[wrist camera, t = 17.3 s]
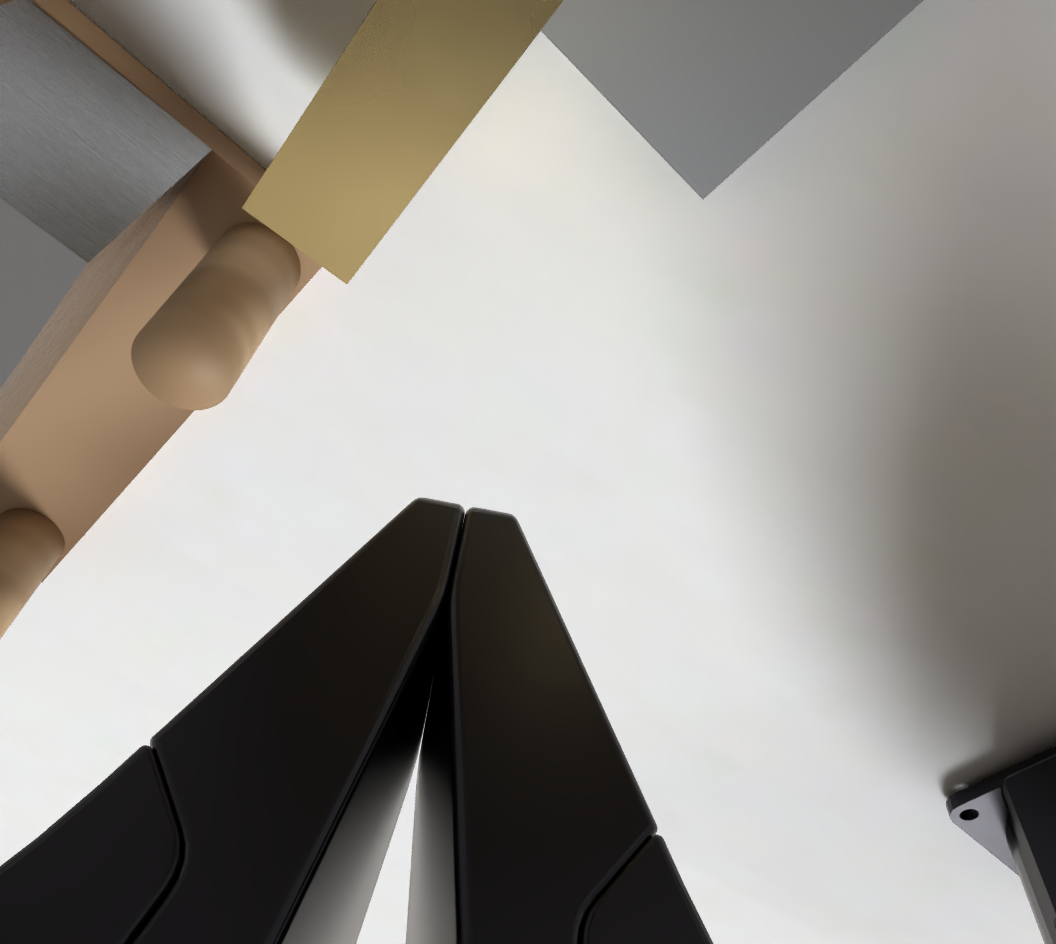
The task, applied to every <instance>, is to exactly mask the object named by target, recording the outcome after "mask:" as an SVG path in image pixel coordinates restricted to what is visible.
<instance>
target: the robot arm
mask: <svg viewBox="0 0 1056 944" xmlns="http://www.w3.org/2000/svg"><path fill="white" fill-rule="evenodd" d="M464 515H465V518H464ZM463 521H464V522H463ZM428 704H429V705H428ZM427 709H428V710H427ZM426 714H427V716H426ZM425 719H426V721H425ZM424 724H425V727H424ZM423 729H424V732H423ZM422 734H423V738H422ZM421 738H422V744H421V750H420V757H419V764H418V774H417V784H416V797H415V812H414V828H413V843H412V858H411V873H410V888H409V903H408V918H407V933H406V944H713V942H712V940H711V938H710V936H709V934H708V932H707V930H706V928H705V926H704V924H703V922H702V920H701V918H700V916H699V914H698V912H697V910H696V908H695V906H694V904H693V902H692V900H691V897H690V895H689V893H688V891H687V889H686V887H685V885H684V883H683V881H682V879H681V877H680V874H679V872H678V870H677V868H676V866H675V863H674V861H673V859H672V857H671V854H670V852H669V850H668V848H667V846H666V843H665V841H664V839H663V838H662V837H661V836H660V835H655V834H656V832H657V825H656V823H655V820H654V818H653V816H652V814H651V812H650V809H649V807H648V805H647V803H646V801H645V799H644V796H643V794H642V792H641V790H640V788H639V785H638V783H637V781H636V779H635V777H634V774H633V772H632V770H631V768H630V766H629V763H628V761H627V759H626V757H625V755H624V752H623V750H622V748H621V746H620V744H619V742H618V739H617V737H616V735H615V733H614V731H613V728H612V726H611V724H610V722H609V720H608V717H607V715H606V713H605V711H604V709H603V706H602V704H601V702H600V700H599V698H598V695H597V693H596V691H595V689H594V687H593V685H592V682H591V680H590V678H589V676H588V674H587V671H586V669H585V667H584V665H583V663H582V660H581V658H580V656H579V654H578V652H577V649H576V647H575V645H574V643H573V641H572V639H571V636H570V634H569V632H568V630H567V628H566V625H565V623H564V621H563V619H562V617H561V614H560V612H559V610H558V608H557V606H556V603H555V601H554V599H553V597H552V595H551V592H550V590H549V588H548V586H547V584H546V582H545V579H544V577H543V575H542V573H541V571H540V568H539V566H538V564H537V562H536V560H535V557H534V555H533V553H532V551H531V549H530V546H529V544H528V542H527V540H526V538H525V535H524V533H523V531H522V529H521V527H520V525H519V523H518V521H517V519H516V518H515V517H514V516H513V515H511V514H508V513H503V512H497V511H492V510H487V509H481V508H476V507H473V508H470V509H469V510H468V511H467V512H466V514H465V511H464V509H463V507H462V506H461V505H459V504H455V503H450V502H444V501H439V500H434V499H429V498H418V499H415V500H414V501H412V502H411V503H410V504H409V505H408V506H407V507H406V508H405V509H404V510H402V511H401V512H400V513H399V514H398V515H397V516H396V517H395V518H394V519H393V520H391V521H390V522H389V523H388V524H387V525H386V526H385V527H384V528H383V529H382V530H380V531H379V532H378V533H377V534H376V535H375V536H374V537H373V538H372V539H370V540H369V541H368V542H367V543H366V544H365V545H364V546H363V547H362V548H361V549H359V550H358V551H357V552H356V553H355V554H354V555H353V556H352V557H351V558H350V559H348V560H347V561H346V562H345V563H344V564H343V565H342V566H341V567H340V568H338V569H337V570H336V571H335V572H334V573H333V574H332V575H331V576H330V577H329V578H327V579H326V580H325V581H324V582H323V583H322V584H321V585H320V586H319V587H318V588H316V589H315V590H314V591H313V592H312V593H311V594H310V595H309V596H308V597H306V598H305V599H304V600H303V601H302V602H301V603H300V604H299V605H298V606H297V607H295V608H294V609H293V610H292V611H291V612H290V613H289V614H288V615H287V616H286V617H284V618H283V619H282V620H281V621H280V622H279V623H278V624H277V625H276V626H274V627H273V628H272V629H271V630H270V631H269V632H268V633H267V634H266V635H265V636H263V637H262V638H261V639H260V640H259V641H258V642H257V643H256V644H255V645H254V646H252V647H251V648H250V649H249V650H248V651H247V652H246V653H245V654H244V655H243V656H241V657H240V658H239V659H238V660H237V661H236V662H235V663H234V664H233V665H231V666H230V667H229V668H228V669H227V670H226V671H225V672H224V673H223V674H222V675H220V676H219V677H218V678H217V679H216V680H215V681H214V682H213V683H212V684H211V685H209V686H208V687H207V688H206V689H205V690H204V691H203V692H202V693H201V694H199V695H198V696H197V697H196V698H195V699H194V700H193V701H192V702H191V703H190V704H188V705H187V706H186V707H185V708H184V709H183V710H182V711H181V712H180V713H179V714H177V715H176V716H175V717H174V718H173V719H172V720H171V721H170V722H169V723H167V724H166V725H165V726H164V727H163V728H162V729H161V730H160V731H159V732H158V733H156V734H155V735H154V736H153V737H152V738H151V740H150V746H147V745H145V746H142V747H140V748H139V749H138V750H137V751H136V752H135V753H134V754H132V755H131V756H130V757H129V758H128V759H127V760H126V761H125V762H124V763H123V764H122V765H120V766H119V767H118V768H117V769H116V770H115V771H114V772H113V773H112V774H111V775H110V776H108V777H107V778H106V779H105V780H104V781H103V782H102V783H101V784H100V785H98V786H97V787H96V788H95V789H94V790H93V791H91V792H90V793H89V794H88V795H87V796H86V797H84V798H83V799H82V800H81V801H80V802H79V803H77V804H76V805H75V806H74V807H73V808H72V809H70V810H69V811H68V812H67V813H66V814H64V815H63V816H62V817H61V818H60V819H59V820H57V821H56V822H55V823H54V824H53V825H52V826H50V827H49V828H48V829H47V830H46V831H45V832H43V833H42V834H41V835H40V836H39V837H38V838H36V839H35V840H34V841H32V842H31V843H30V844H29V845H27V846H26V847H25V848H23V849H22V850H21V851H19V852H18V853H17V854H16V855H14V856H13V857H12V858H10V859H9V860H8V861H6V862H5V863H4V864H3V865H1V866H0V944H356V942H357V939H358V936H359V933H360V930H361V927H362V924H363V921H364V918H365V915H366V912H367V909H368V906H369V903H370V900H371V897H372V894H373V891H374V888H375V885H376V882H377V879H378V876H379V873H380V870H381V867H382V864H383V861H384V858H385V855H386V852H387V849H388V846H389V843H390V840H391V837H392V834H393V831H394V828H395V825H396V822H397V819H398V816H399V814H400V811H401V808H402V805H403V802H404V799H405V796H406V793H407V790H408V787H409V783H410V780H411V777H412V773H413V770H414V767H415V763H416V760H417V756H418V751H419V747H420V743H421ZM946 807H947V810H948V813H949V816H950V819H951V820H952V822H953V823H955V824H956V825H957V826H958V827H960V828H961V829H962V830H963V831H964V832H966V833H967V834H968V835H969V836H971V837H972V838H973V839H974V840H976V841H977V842H978V843H979V844H981V845H982V846H983V847H984V848H985V849H987V850H988V851H989V852H990V853H992V854H993V855H994V856H995V857H997V858H998V859H999V860H1000V861H1001V862H1003V863H1004V864H1005V865H1006V866H1008V867H1009V868H1010V869H1011V870H1013V871H1014V872H1015V873H1016V874H1018V875H1019V876H1020V878H1021V881H1022V884H1023V887H1024V889H1025V892H1026V895H1027V897H1028V900H1029V903H1030V905H1031V908H1032V911H1033V913H1034V916H1035V919H1036V922H1037V924H1038V927H1039V930H1040V932H1041V935H1042V938H1043V940H1044V943H1045V944H1056V747H1054V748H1052V749H1049V750H1047V751H1045V752H1043V753H1041V754H1039V755H1037V756H1034V757H1032V758H1030V759H1028V760H1026V761H1024V762H1022V763H1019V764H1017V765H1015V766H1013V767H1011V768H1009V769H1007V770H1004V771H1002V772H1000V773H998V774H996V775H994V776H992V777H989V778H987V779H985V780H983V781H981V782H979V783H977V784H974V785H972V786H970V787H968V788H966V789H964V790H962V791H959V792H957V793H955V794H953V795H952V796H950V797H949V798H948V800H947V801H946Z"/></svg>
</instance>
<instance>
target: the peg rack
mask: <svg viewBox="0 0 1056 944" xmlns="http://www.w3.org/2000/svg"><path fill="white" fill-rule="evenodd" d="M11 1H14V0H0V5H3V4H6V3H8V2H11ZM31 1H33V2H34V3H35V4H36V5H38V6H39V7H40V8H41V9H42V10H44V11H45V12H46V13H47V14H48V15H50V16H51V17H52V18H53V19H55V20H56V21H57V22H58V23H59V24H61V25H62V26H63V27H64V28H65V29H67V30H68V31H69V32H70V33H71V34H73V35H74V36H75V37H76V38H78V39H79V40H80V41H81V42H82V43H84V44H85V45H86V46H87V47H88V48H90V49H91V50H92V51H93V52H95V53H96V54H97V55H98V56H99V57H101V58H102V59H103V60H104V61H105V62H107V63H108V64H109V65H110V66H111V67H113V68H114V69H115V70H116V71H118V72H119V73H120V74H121V75H122V76H124V77H125V78H126V79H127V80H128V81H130V82H131V83H132V84H133V85H134V86H136V87H137V88H138V89H139V90H141V91H142V92H143V93H144V94H145V95H147V96H148V97H149V98H150V99H151V100H153V101H154V102H155V103H156V104H158V105H159V106H160V107H161V108H162V109H164V110H165V111H166V112H167V113H168V114H170V115H171V116H172V117H173V118H174V119H176V120H177V121H178V122H179V123H181V124H182V125H183V126H184V127H185V128H187V129H188V130H189V131H190V132H191V133H193V134H194V135H195V136H196V137H197V138H199V139H200V140H201V141H202V142H204V143H205V144H206V145H207V146H208V147H210V148H211V149H212V150H211V152H210V153H209V154H208V156H207V157H206V159H205V160H204V161H203V163H202V164H201V166H200V167H199V168H198V170H197V171H196V172H195V174H194V175H193V177H192V178H191V179H190V181H189V182H188V184H187V185H186V186H185V188H184V189H183V190H182V192H181V193H180V195H179V196H178V197H177V199H176V200H175V201H174V203H173V204H172V206H171V207H170V208H169V210H168V211H167V213H166V214H165V215H164V217H163V218H162V219H161V221H160V222H159V224H158V225H157V226H156V228H155V229H154V231H153V232H152V233H151V235H150V236H149V237H148V239H147V240H146V242H145V243H144V244H143V246H142V247H141V248H140V250H139V251H138V253H137V254H136V255H135V257H134V258H133V260H132V261H131V262H130V264H129V265H128V266H127V268H126V269H125V271H124V272H123V273H122V275H121V276H120V278H119V279H118V280H117V282H116V283H115V284H114V286H113V287H112V289H111V290H110V291H109V293H108V294H107V296H106V297H105V298H104V300H103V301H102V302H101V304H100V305H99V307H98V308H97V309H96V311H95V312H94V313H93V315H92V316H91V318H90V319H89V320H88V322H87V323H86V325H85V326H84V327H83V329H82V330H81V331H80V333H79V334H78V336H77V337H76V338H75V340H74V341H73V343H72V344H71V345H70V347H69V348H68V349H67V351H66V352H65V354H64V355H63V356H62V358H61V359H60V360H59V362H58V363H57V365H56V366H55V367H54V369H53V370H52V372H51V373H50V374H49V376H48V377H47V378H46V380H45V381H44V383H43V384H42V385H41V387H40V388H39V390H38V391H37V392H36V394H35V395H34V396H33V398H32V399H31V401H30V402H29V403H28V405H27V406H26V408H25V409H24V410H23V412H22V413H21V414H20V416H19V417H18V419H17V420H16V421H15V423H14V424H13V425H12V427H11V428H10V430H9V431H8V432H7V434H6V435H5V437H4V438H3V439H2V441H1V442H0V639H1V637H2V636H3V635H4V633H5V632H6V630H7V629H8V628H9V626H10V625H11V623H12V622H13V621H14V619H15V618H16V616H17V615H18V614H19V612H20V611H21V609H22V608H23V607H24V605H25V604H26V602H27V601H28V600H29V598H30V597H31V595H32V594H33V593H34V591H35V590H36V589H37V587H38V586H39V584H40V583H41V582H43V581H44V579H45V578H46V577H47V576H48V575H49V574H50V573H51V572H52V570H53V569H54V568H55V567H56V566H57V565H58V564H59V563H60V561H61V560H62V559H63V558H64V557H65V556H66V555H67V554H68V552H69V551H70V550H71V549H72V548H73V547H74V546H75V545H76V543H77V542H78V541H79V540H80V539H81V538H82V537H83V535H84V534H85V533H86V532H87V531H88V530H89V529H90V528H91V526H92V525H93V524H94V523H95V522H96V521H97V520H98V519H99V517H100V516H101V515H102V514H103V513H104V512H105V511H106V510H107V508H108V507H109V506H110V505H111V504H112V503H113V502H114V501H115V499H116V498H117V497H118V496H119V495H120V494H121V493H122V491H123V490H124V489H125V488H126V487H127V486H128V485H129V484H130V482H131V481H132V480H133V479H134V478H135V477H136V476H137V475H138V473H139V472H140V471H141V470H142V469H143V468H144V467H145V466H146V464H147V463H148V462H149V461H150V460H151V459H152V458H153V457H154V455H155V454H156V453H157V452H158V451H159V450H160V449H161V447H162V446H163V445H164V444H165V443H166V442H167V441H168V440H169V438H170V437H171V436H172V435H173V434H174V433H175V432H176V431H177V429H178V428H179V427H180V426H181V425H182V424H183V423H184V422H185V420H186V419H187V418H188V417H189V416H190V415H191V414H192V413H193V411H194V410H203V409H208V408H211V407H213V406H216V405H218V404H219V403H220V402H222V401H223V400H224V399H225V398H226V397H227V395H228V394H229V393H230V391H231V389H232V388H233V386H234V385H235V383H236V381H237V380H238V378H239V377H240V375H241V374H242V372H243V370H244V369H245V367H246V366H247V364H248V362H249V361H250V359H251V358H252V356H253V354H254V353H255V351H256V350H257V348H258V347H259V345H260V343H261V342H262V340H263V339H264V337H265V335H266V334H267V332H268V331H269V329H270V327H271V326H272V324H273V323H274V321H275V320H276V318H277V317H278V315H279V314H280V313H281V312H282V311H283V310H284V309H285V308H286V306H287V305H288V304H289V303H290V302H291V301H292V300H293V299H294V297H295V296H296V295H297V294H298V293H299V292H300V291H301V290H302V288H303V287H304V286H305V285H306V284H307V283H308V282H309V281H310V279H311V278H312V277H313V276H314V275H315V274H316V273H317V271H318V270H319V269H320V268H321V267H322V266H321V265H320V264H318V263H317V262H315V261H314V260H313V259H311V258H310V257H309V256H307V255H306V254H304V253H303V252H302V251H300V250H299V249H298V248H296V247H295V246H293V245H292V244H291V243H289V242H288V241H287V240H285V239H284V238H282V237H281V236H280V235H278V234H277V233H275V232H274V231H273V230H271V229H270V228H269V227H267V226H266V225H264V224H263V223H262V222H260V221H259V220H258V219H256V218H255V217H253V216H252V215H251V214H249V213H248V212H247V211H245V210H244V209H242V207H243V205H244V204H245V202H246V201H247V199H248V198H249V196H250V195H251V193H252V191H253V190H254V188H255V187H256V185H257V184H258V182H259V181H260V179H261V178H262V176H263V175H264V173H265V172H266V169H264V168H263V167H262V166H261V165H260V164H259V163H257V162H256V161H255V160H254V159H253V158H252V157H250V156H249V155H248V154H247V153H246V152H245V151H243V150H242V149H241V148H240V147H239V146H237V145H236V144H235V143H234V142H233V141H232V140H230V139H229V138H228V137H227V136H226V135H225V134H223V133H222V132H221V131H220V130H219V129H218V128H216V127H215V126H214V125H213V124H212V123H211V122H209V121H208V120H207V119H206V118H205V117H203V116H202V115H201V114H200V113H199V112H198V111H196V110H195V109H194V108H193V107H192V106H191V105H189V104H188V103H187V102H186V101H185V100H184V99H182V98H181V97H180V96H179V95H178V94H177V93H175V92H174V91H173V90H172V89H171V88H169V87H168V86H167V85H166V84H165V83H164V82H162V81H161V80H160V79H159V78H158V77H157V76H155V75H154V74H153V73H152V72H151V71H150V70H148V69H147V68H146V67H145V66H144V65H143V64H141V63H140V62H139V61H138V60H137V59H135V58H134V57H133V56H132V55H131V54H130V53H128V52H127V51H126V50H125V49H124V48H123V47H121V46H120V45H119V44H118V43H117V42H116V41H114V40H113V39H112V38H111V37H110V36H109V35H107V34H106V33H105V32H104V31H103V30H101V29H100V28H99V27H98V26H97V25H96V24H94V23H93V22H92V21H91V20H90V19H89V18H87V17H86V16H85V15H84V14H83V13H82V12H80V11H79V10H78V9H77V8H76V7H75V6H73V5H72V4H71V3H70V2H69V1H67V0H31Z"/></svg>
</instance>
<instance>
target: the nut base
mask: <svg viewBox="0 0 1056 944" xmlns="http://www.w3.org/2000/svg"><path fill="white" fill-rule="evenodd" d="M922 1H923V0H563V2H562V3H561V4H560V6H559V7H558V8H557V10H556V11H555V12H554V14H553V15H552V16H551V17H550V19H549V20H548V21H547V23H546V24H545V25H544V27H543V28H542V29H541V31H542V32H543V33H544V34H545V35H546V37H547V38H548V39H549V40H550V41H551V42H552V43H553V44H554V45H555V46H556V47H557V48H558V49H559V50H560V51H561V52H562V53H563V54H564V55H565V56H566V57H567V58H568V59H569V60H570V62H571V63H572V64H573V65H574V66H575V67H576V68H577V69H578V70H579V71H580V72H581V73H582V74H583V75H584V76H585V77H586V78H587V79H588V80H589V81H590V82H591V83H592V84H593V85H594V86H595V88H596V89H597V90H598V91H599V92H600V93H601V94H602V95H603V96H604V97H605V98H606V99H607V100H608V101H609V102H610V103H611V104H612V105H613V106H614V107H615V108H616V109H617V110H618V111H619V113H620V114H621V115H622V116H623V117H624V118H625V119H626V120H627V121H628V122H629V123H630V124H631V125H632V126H633V127H634V128H635V129H636V130H637V131H638V132H639V133H640V134H641V135H642V136H643V138H644V139H645V140H646V141H647V142H648V143H649V144H650V145H651V146H652V147H653V148H654V149H655V150H656V151H657V152H658V153H659V154H660V155H661V156H662V157H663V158H664V159H665V160H666V161H667V162H668V164H669V165H670V166H671V167H672V168H673V169H674V170H675V171H676V172H677V173H678V174H679V175H680V176H681V177H682V178H683V179H684V180H685V181H686V182H687V183H688V184H689V185H690V186H691V187H692V189H693V190H694V191H695V192H696V193H697V194H698V195H699V196H700V197H701V198H702V199H704V198H705V197H706V196H707V195H708V194H710V193H711V192H712V191H713V190H714V189H715V188H716V187H717V186H718V185H720V184H721V183H722V182H723V181H724V180H725V179H726V178H727V177H728V176H729V175H731V174H732V173H733V172H734V171H735V170H736V169H737V168H738V167H739V166H741V165H742V164H743V163H744V162H745V161H746V160H747V159H748V158H749V157H750V156H752V155H753V154H754V153H755V152H756V151H757V150H758V149H759V148H760V147H762V146H763V145H764V144H765V143H766V142H767V141H768V140H769V139H770V138H771V137H773V136H774V135H775V134H776V133H777V132H778V131H779V130H780V129H781V128H783V127H784V126H785V125H786V124H787V123H788V122H789V121H790V120H791V119H792V118H794V117H795V116H796V115H797V114H798V113H799V112H800V111H801V110H802V109H804V108H805V107H806V106H807V105H808V104H809V103H810V102H811V101H812V100H813V99H815V98H816V97H817V96H818V95H819V94H820V93H821V92H822V91H823V90H825V89H826V88H827V87H828V86H829V85H830V84H831V83H832V82H833V81H834V80H836V79H837V78H838V77H839V76H840V75H841V74H842V73H843V72H844V71H846V70H847V69H848V68H849V67H850V66H851V65H852V64H853V63H854V62H855V61H857V60H858V59H859V58H860V57H861V56H862V55H863V54H864V53H865V52H867V51H868V50H869V49H870V48H871V47H872V46H873V45H874V44H875V43H876V42H878V41H879V40H880V39H881V38H882V37H883V36H884V35H885V34H886V33H888V32H889V31H890V30H891V29H892V28H893V27H894V26H895V25H896V24H897V23H899V22H900V21H901V20H902V19H903V18H904V17H905V16H906V15H907V14H909V13H910V12H911V11H912V10H913V9H914V8H915V7H916V6H917V5H918V4H920V3H921V2H922Z"/></svg>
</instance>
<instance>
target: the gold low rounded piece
mask: <svg viewBox="0 0 1056 944" xmlns="http://www.w3.org/2000/svg"><path fill="white" fill-rule="evenodd" d="M562 2H563V0H377V1H376V3H375V4H374V6H373V8H372V9H371V11H370V12H369V14H368V15H367V17H366V18H365V20H364V21H363V23H362V24H361V26H360V27H359V29H358V31H357V32H356V34H355V35H354V37H353V38H352V40H351V41H350V43H349V44H348V46H347V47H346V49H345V50H344V52H343V54H342V55H341V57H340V58H339V60H338V61H337V63H336V64H335V66H334V67H333V69H332V70H331V72H330V73H329V75H328V77H327V78H326V80H325V81H324V83H323V84H322V86H321V87H320V89H319V90H318V92H317V93H316V95H315V96H314V98H313V99H312V101H311V103H310V104H309V106H308V107H307V109H306V110H305V112H304V113H303V115H302V116H301V118H300V119H299V121H298V122H297V124H296V126H295V127H294V129H293V130H292V132H291V133H290V135H289V136H288V138H287V139H286V141H285V142H284V144H283V145H282V147H281V149H280V150H279V152H278V153H277V155H276V156H275V158H274V159H273V161H272V162H271V164H270V165H269V167H268V168H267V170H266V172H265V173H264V175H263V176H262V178H261V179H260V181H259V182H258V184H257V185H256V187H255V188H254V190H253V191H252V193H251V195H250V196H249V198H248V199H247V201H246V202H245V204H244V205H243V207H242V209H244V210H245V211H247V212H248V213H249V214H251V215H252V216H253V217H255V218H256V219H258V220H259V221H260V222H262V223H263V224H264V225H266V226H267V227H269V228H270V229H271V230H273V231H274V232H275V233H277V234H278V235H280V236H281V237H282V238H284V239H285V240H287V241H288V242H289V243H291V244H292V245H293V246H295V247H296V248H298V249H299V250H300V251H302V252H303V253H304V254H306V255H307V256H309V257H310V258H311V259H313V260H314V261H315V262H317V263H318V264H320V265H321V266H322V267H324V268H325V269H327V270H328V271H329V272H331V273H332V274H333V275H335V276H336V277H338V278H339V279H340V280H342V281H343V282H344V283H346V284H348V282H349V281H350V280H351V278H352V277H353V276H354V275H355V273H356V272H357V271H358V269H359V268H360V267H361V265H362V264H363V263H364V261H365V260H366V259H367V257H368V256H369V255H370V254H371V252H372V251H373V250H374V248H375V247H376V246H377V244H378V243H379V242H380V240H381V239H382V238H383V236H384V235H385V234H386V233H387V231H388V230H389V229H390V227H391V226H392V225H393V223H394V222H395V221H396V219H397V218H398V217H399V215H400V214H401V213H402V212H403V210H404V209H405V208H406V206H407V205H408V204H409V202H410V201H411V200H412V198H413V197H414V196H415V195H416V193H417V192H418V191H419V189H420V188H421V187H422V185H423V184H424V183H425V181H426V180H427V179H428V177H429V176H430V175H431V174H432V172H433V171H434V170H435V168H436V167H437V166H438V164H439V163H440V162H441V160H442V159H443V158H444V156H445V155H446V154H447V153H448V151H449V150H450V149H451V147H452V146H453V145H454V143H455V142H456V141H457V139H458V138H459V137H460V135H461V134H462V133H463V132H464V130H465V129H466V128H467V126H468V125H469V124H470V122H471V121H472V120H473V118H474V117H475V116H476V115H477V113H478V112H479V111H480V109H481V108H482V107H483V105H484V104H485V103H486V101H487V100H488V99H489V97H490V96H491V95H492V94H493V92H494V91H495V90H496V88H497V87H498V86H499V84H500V83H501V82H502V80H503V79H504V78H505V76H506V75H507V74H508V73H509V71H510V70H511V69H512V67H513V66H514V65H515V63H516V62H517V61H518V59H519V58H520V57H521V55H522V54H523V53H524V52H525V50H526V49H527V48H528V46H529V45H530V44H531V42H532V41H533V40H534V38H535V37H536V36H537V34H538V33H539V32H540V31H541V29H542V28H543V27H544V25H545V24H546V23H547V21H548V20H549V19H550V17H551V16H552V15H553V14H554V12H555V11H556V10H557V8H558V7H559V6H560V4H561V3H562Z"/></svg>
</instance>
